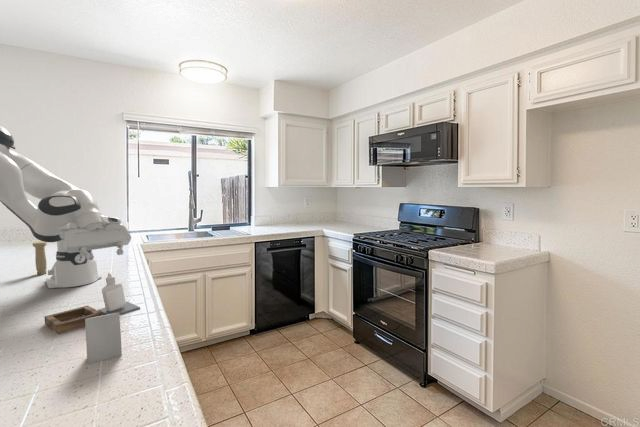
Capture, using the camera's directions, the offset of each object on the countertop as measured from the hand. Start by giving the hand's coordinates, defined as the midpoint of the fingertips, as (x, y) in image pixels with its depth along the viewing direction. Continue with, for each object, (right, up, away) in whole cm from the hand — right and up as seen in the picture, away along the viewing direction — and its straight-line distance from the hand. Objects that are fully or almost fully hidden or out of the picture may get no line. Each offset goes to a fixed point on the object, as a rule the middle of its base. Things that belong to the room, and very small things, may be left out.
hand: (106, 256), depth 113 cm
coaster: (+8, -17, -5) cm, 19 cm away
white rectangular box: (+22, -20, -35) cm, 46 cm away
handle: (-56, -14, +40) cm, 70 cm away
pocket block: (0, -18, -15) cm, 24 cm away
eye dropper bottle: (+7, -16, -6) cm, 19 cm away
